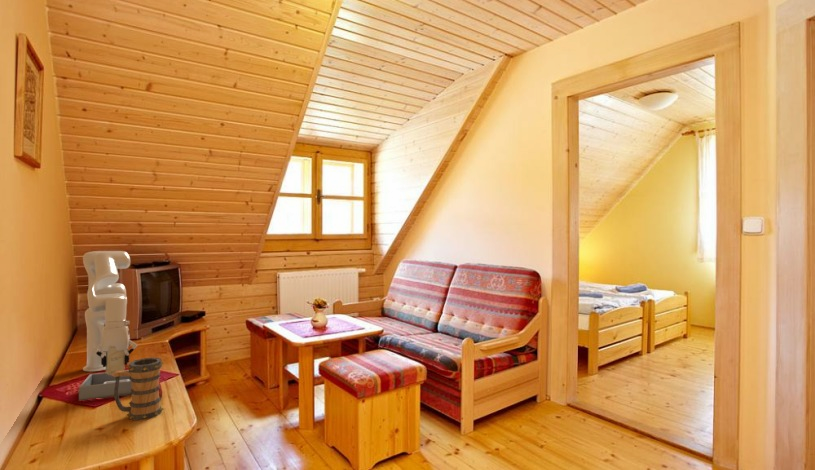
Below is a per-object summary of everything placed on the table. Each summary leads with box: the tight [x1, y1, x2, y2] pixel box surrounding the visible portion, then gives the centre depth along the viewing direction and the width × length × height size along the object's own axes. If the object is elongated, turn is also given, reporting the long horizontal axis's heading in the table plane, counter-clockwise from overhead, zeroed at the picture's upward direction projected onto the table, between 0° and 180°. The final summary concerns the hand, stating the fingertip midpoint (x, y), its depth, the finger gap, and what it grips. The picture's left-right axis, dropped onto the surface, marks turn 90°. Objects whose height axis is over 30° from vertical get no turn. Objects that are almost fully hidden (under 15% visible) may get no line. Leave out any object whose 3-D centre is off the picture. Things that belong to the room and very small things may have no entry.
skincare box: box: [105, 346, 126, 375], centre depth 189 cm, size 6×4×12 cm
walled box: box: [78, 369, 132, 402], centre depth 189 cm, size 18×22×6 cm
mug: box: [112, 357, 165, 421], centre depth 164 cm, size 13×17×20 cm
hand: (115, 364), depth 189 cm, fingers closed on skincare box, 7 cm apart
